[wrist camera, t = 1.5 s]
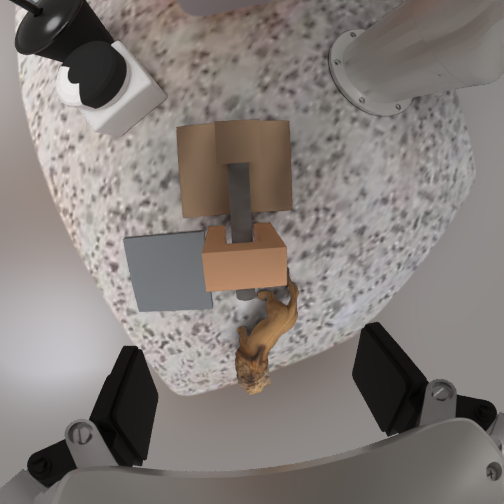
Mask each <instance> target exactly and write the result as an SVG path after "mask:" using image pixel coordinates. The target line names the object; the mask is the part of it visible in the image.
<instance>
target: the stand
mask: <svg viewBox="0 0 504 504" xmlns="http://www.w3.org/2000/svg"><path fill="white" fill-rule="evenodd" d="M176 128H177V147H178V163H179V176H180V188H181V199H182V209H183V218H187V217H199V216H211V215H224V214H230V216H231V230H232V244H233V243H246V242H253V238H252V218H251V213H253V212H269V211H288V210H292V176H291V149H290V128H289V121H259V119H257V120H233V121H218V122H214V123H211V124H200V125H191V126H182V127H176ZM236 295H237V298H238V299H239V300H243V301H247V300H252V299H253V298H255V288H250V289H238V290H236Z"/></svg>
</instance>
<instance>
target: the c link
mask: <svg viewBox="0 0 504 504" xmlns="http://www.w3.org/2000/svg"><path fill="white" fill-rule="evenodd" d="M254 239H255V242H246V243H233V244H227V242H226V230H225V225H224V226H211V227H209V228H208V232H207V235H206V239H205V243H204V246H203V250H202V261H203V270H204V278H205V285H206V292H210V291H224V290H238V289H250V288H262V287H274V286H284V285H287V247H286V245H285V244H284V242H283V241H282V239H281V238H280V236H279V235H278V233H277V232H276V231H275V229H274V228H273V226H272V225H271V223H270V222H267V223H254Z"/></svg>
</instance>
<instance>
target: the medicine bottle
mask: <svg viewBox="0 0 504 504" xmlns="http://www.w3.org/2000/svg"><path fill="white" fill-rule="evenodd" d="M56 92H57V95H58V97H59V99H60V100H61V101H62V102H63V103H64V104H66V105H69V106H73V107H76V108H78V109H79V110H80V112H81V113H82V115H83V116H84V118H85V119H86V121H87V122H88V124H89V125H90V127H91V128H92V130H93V131H94V132H98V133H104V134H110V135H115V136H122V135H123V134H125V133H126V132H127V131H128V130H129V129H130V128H131V127H132V126H134V125H135V124H136V123H137V122H138V121H139V120H141V119H142V118H143V117H144V116H145V115H147V114H148V113H149V112H150V111H152V110H153V109H154V108H155V107H157V106H158V105H159V104H160V103H162V102H163V101H164V100H166V98H167V96H166V95H165V93H164V92H163V91H162V89H161V88H160V87H159V86H158V84H157V83H156V82H155V81H154V79H153V78H152V77H151V76H150V74H149V73H148V72H147V71H146V69H145V68H144V67H143V66H142V64H141V63H140V62H139V61H138V60H137V59H136V58H135V57H134V55H133V54H132V53H131V52H130V51H129V50H128V49H127V48H126V47H125V46H124V45H123V44H122V43H121V42H120V41H115V42H114V43H113V44H111V45H110V44H109V43H107V42H104V41H92V42H88V43H86V44H84V45H82V46H80V47H78V48H77V49H75V50H74V51H73V52H72V53H71V54H70V55H69V56H68V57H67V58H66V59H65V61H64V62H63V64H62V65H61V67H60V69H59V72H58V75H57V79H56Z"/></svg>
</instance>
